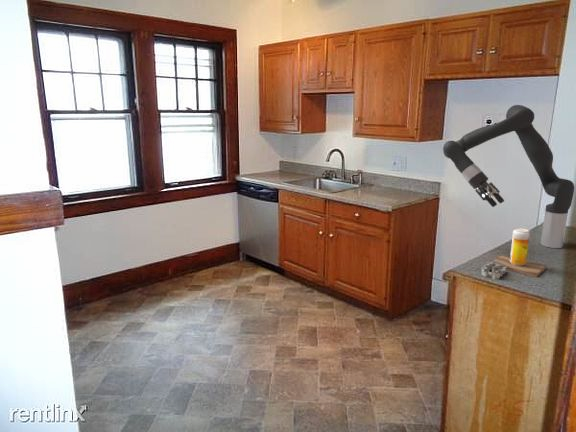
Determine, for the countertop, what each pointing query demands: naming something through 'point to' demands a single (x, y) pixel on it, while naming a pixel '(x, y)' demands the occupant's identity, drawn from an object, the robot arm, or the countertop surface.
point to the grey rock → (493, 270)
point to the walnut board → (526, 269)
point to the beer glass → (519, 247)
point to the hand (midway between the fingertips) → (498, 204)
